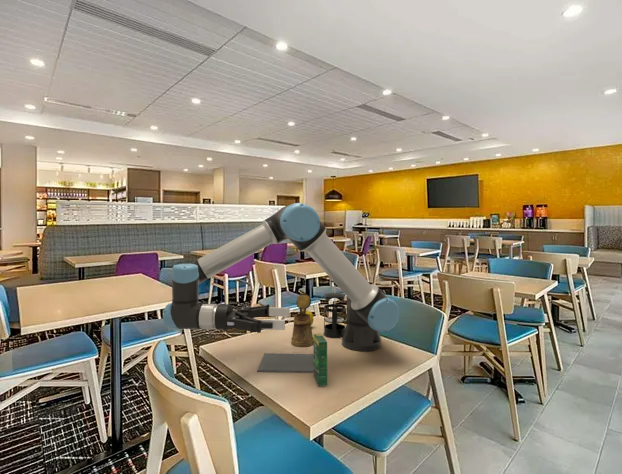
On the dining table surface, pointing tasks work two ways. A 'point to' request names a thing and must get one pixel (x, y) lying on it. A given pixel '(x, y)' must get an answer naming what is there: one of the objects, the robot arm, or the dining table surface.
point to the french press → (334, 316)
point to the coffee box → (320, 359)
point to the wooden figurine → (302, 323)
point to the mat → (287, 363)
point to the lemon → (310, 316)
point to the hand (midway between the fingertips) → (287, 318)
